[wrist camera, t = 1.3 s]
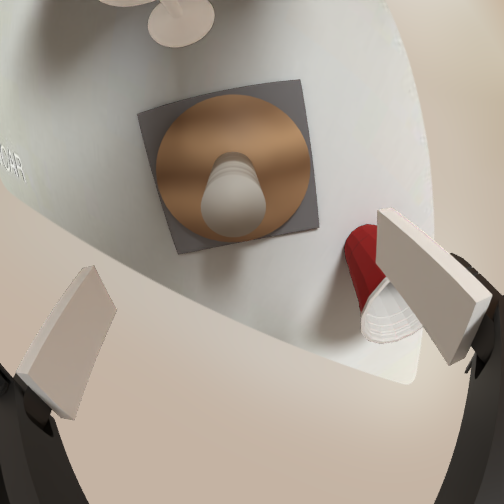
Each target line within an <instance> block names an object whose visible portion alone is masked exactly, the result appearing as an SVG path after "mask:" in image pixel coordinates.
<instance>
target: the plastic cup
mask: <svg viewBox="0 0 504 504" xmlns="http://www.w3.org/2000/svg"><path fill="white" fill-rule="evenodd" d="M376 247H377V226H376V225H370V224H366V225H363V226H360V227H358V228H357V229H355V230H354V231H353V232H351V234H350V235H349V237H348V238H347V240H346V244H345V247H344V249H345V257H346V261H347V264H348V267H349V271H350V275H351V278H352V281H353V285H354V288H355V291H356V294H357V298H358V301H359V307H360V311H361V333H362V334H363V335H364V336H365V338H366V339H367V340H368V341H370V342H375V343H379V344H384V343H390V342H396V341H399V340H401V339H403V338H405V337H408V336H410V335H412V334H414V333H415V332H417V331H418V330H419V329H421V328H422V327H423V326H422V324H421V323H420V321H419V320H418V319H417V317H416V316H415V314H414V313H413V311H412V310H411V309H410V307H409V306H408V305H407V303H406V302H405V300H404V299H403V298H402V296H401V295H400V294H399V292H398V291H397V290H396V288H395V287H394V286H393V284H392V283H391V282H390V281H389V279H388V278H387V277H386V275H385V274H384V273H383V272H382V270H381V269H380V268H379V267H378V265H377V264H376Z"/></svg>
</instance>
